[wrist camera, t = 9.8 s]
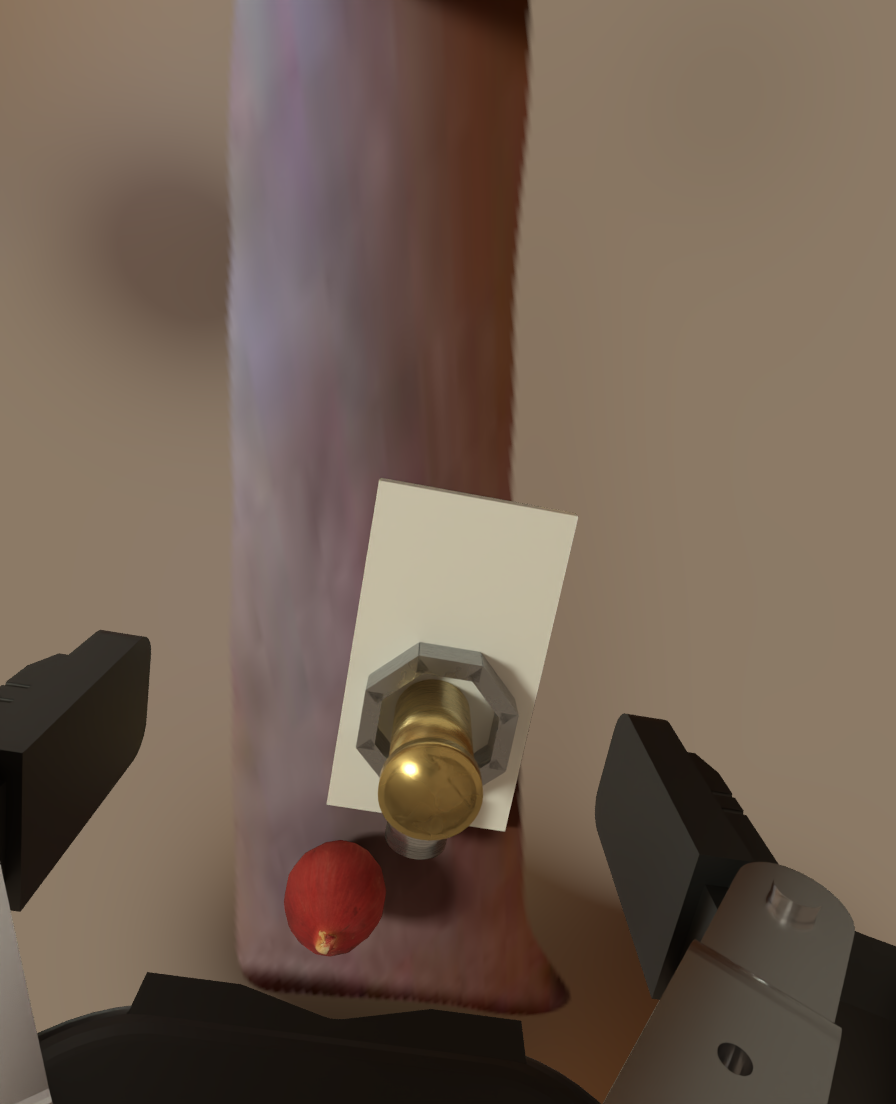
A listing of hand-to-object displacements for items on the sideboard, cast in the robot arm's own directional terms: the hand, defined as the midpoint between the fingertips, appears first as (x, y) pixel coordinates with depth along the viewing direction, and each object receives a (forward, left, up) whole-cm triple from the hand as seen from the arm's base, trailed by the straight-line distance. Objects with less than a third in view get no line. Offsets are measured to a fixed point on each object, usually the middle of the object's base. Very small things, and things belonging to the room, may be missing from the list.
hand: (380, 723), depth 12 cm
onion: (+24, -1, -28) cm, 37 cm away
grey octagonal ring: (+15, +3, -27) cm, 31 cm away
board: (+10, +3, -28) cm, 30 cm away
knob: (+13, +3, -27) cm, 30 cm away
